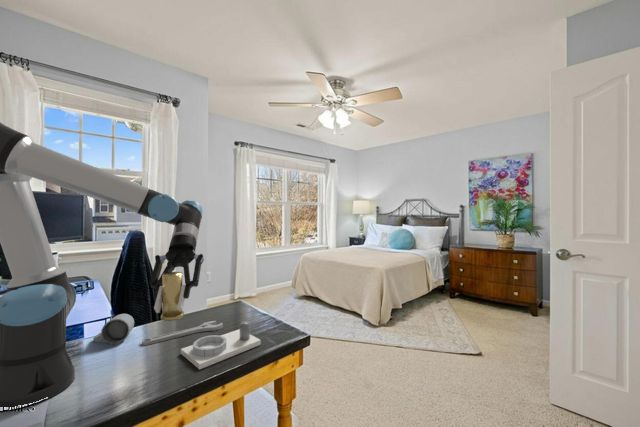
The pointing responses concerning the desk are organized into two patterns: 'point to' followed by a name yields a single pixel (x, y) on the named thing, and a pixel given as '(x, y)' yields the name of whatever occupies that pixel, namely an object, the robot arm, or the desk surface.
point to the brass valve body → (171, 296)
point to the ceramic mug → (116, 329)
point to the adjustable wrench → (184, 332)
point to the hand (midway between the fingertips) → (168, 309)
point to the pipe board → (220, 346)
